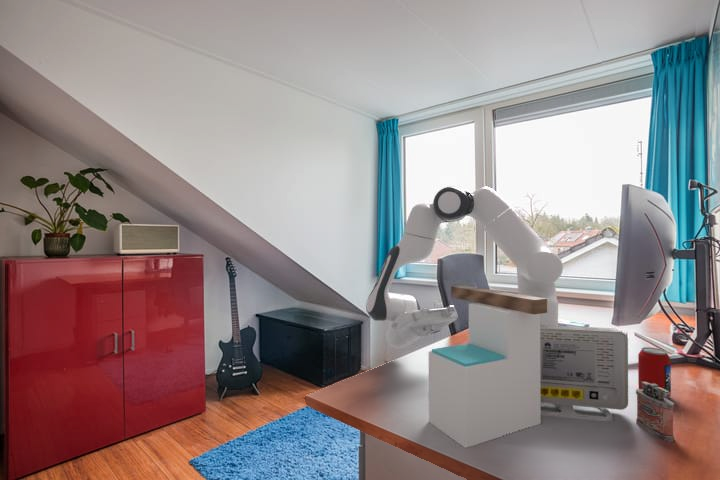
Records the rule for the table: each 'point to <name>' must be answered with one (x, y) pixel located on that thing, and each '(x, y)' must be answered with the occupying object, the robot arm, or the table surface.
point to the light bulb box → (571, 323)
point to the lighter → (655, 411)
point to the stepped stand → (487, 377)
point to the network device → (583, 370)
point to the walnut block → (501, 299)
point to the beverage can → (654, 368)
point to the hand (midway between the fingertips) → (440, 309)
